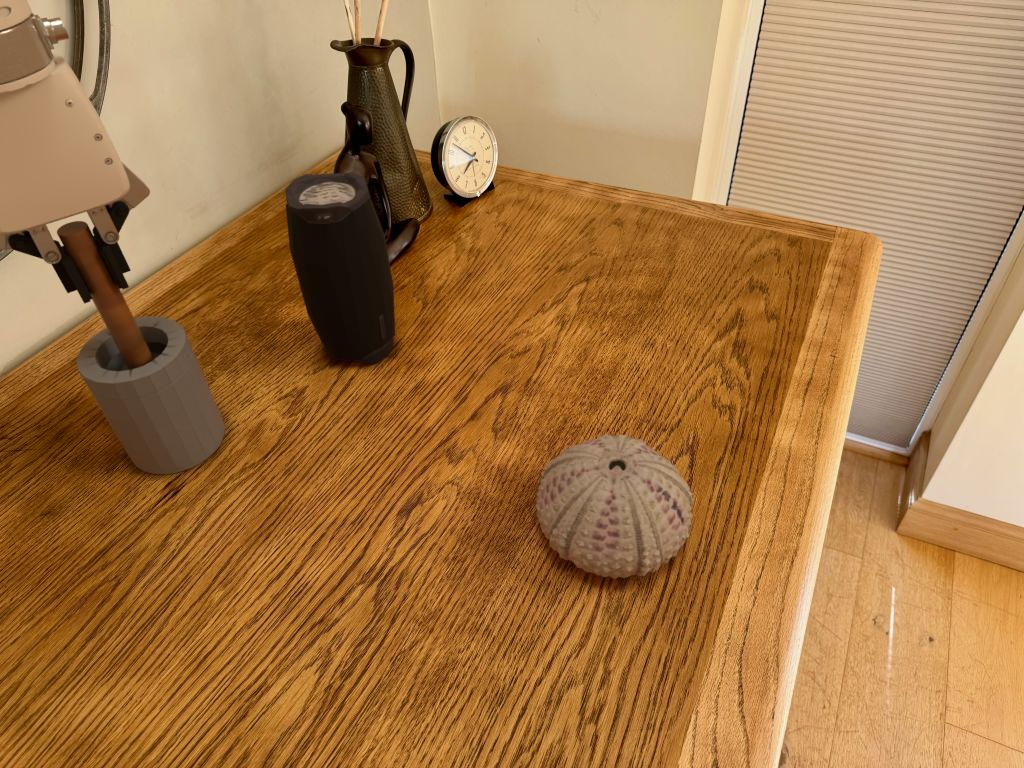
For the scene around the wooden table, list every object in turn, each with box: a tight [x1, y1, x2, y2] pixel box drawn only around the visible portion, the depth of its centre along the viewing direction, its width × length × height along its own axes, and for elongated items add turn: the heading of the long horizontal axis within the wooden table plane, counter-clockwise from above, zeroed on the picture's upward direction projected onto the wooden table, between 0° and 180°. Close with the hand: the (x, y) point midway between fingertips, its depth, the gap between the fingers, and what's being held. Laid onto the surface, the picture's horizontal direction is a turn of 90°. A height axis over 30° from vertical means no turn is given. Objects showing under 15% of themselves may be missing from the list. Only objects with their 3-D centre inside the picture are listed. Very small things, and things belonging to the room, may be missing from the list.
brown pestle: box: [56, 220, 160, 371], centre depth 62 cm, size 4×4×18 cm
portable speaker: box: [285, 171, 396, 366], centre depth 75 cm, size 9×9×20 cm
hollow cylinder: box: [76, 315, 226, 475], centre depth 68 cm, size 9×9×12 cm
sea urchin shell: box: [534, 433, 696, 580], centre depth 61 cm, size 13×14×8 cm
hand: (101, 286), depth 59 cm, fingers closed on brown pestle, 2 cm apart
